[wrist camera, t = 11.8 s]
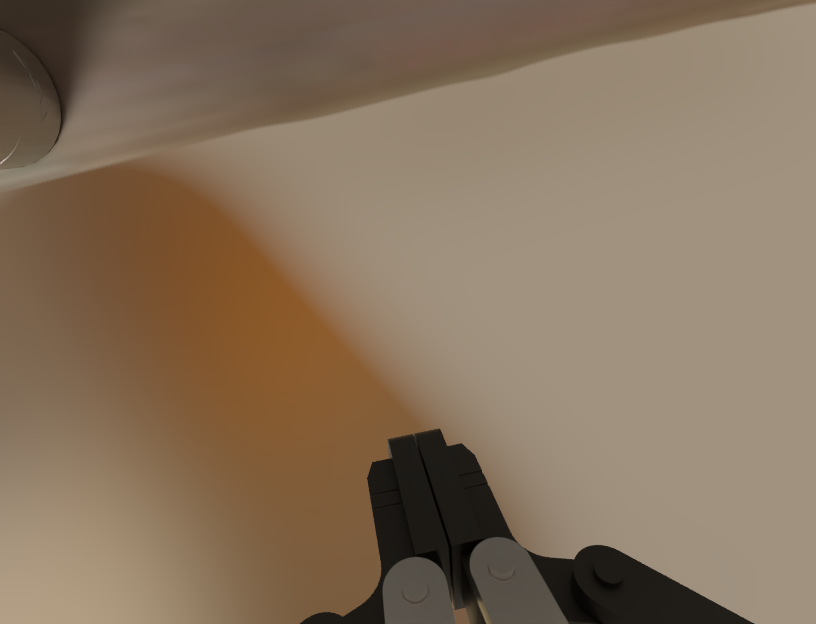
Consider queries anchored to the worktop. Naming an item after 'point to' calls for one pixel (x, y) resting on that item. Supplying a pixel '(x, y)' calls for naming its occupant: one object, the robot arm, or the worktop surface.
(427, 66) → the worktop surface
